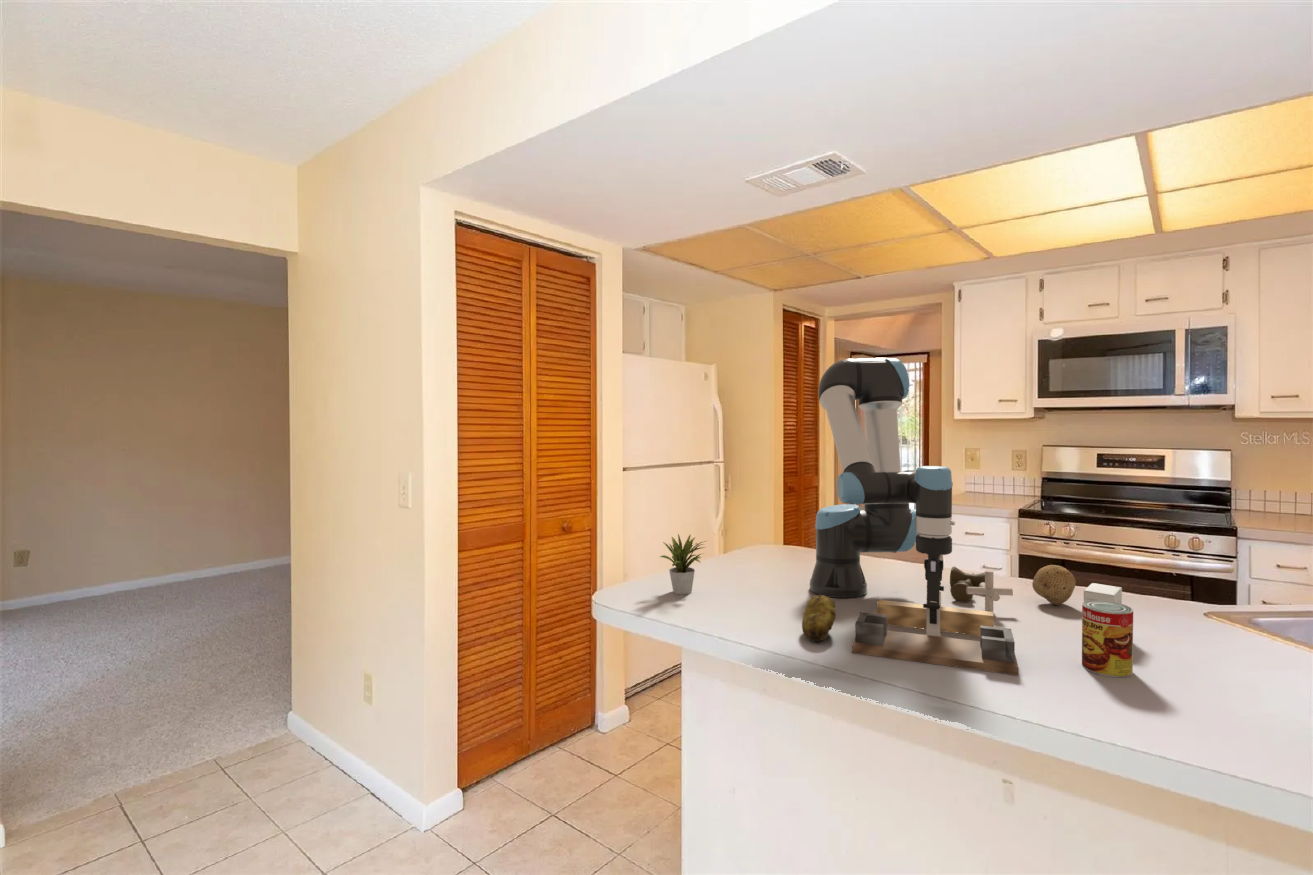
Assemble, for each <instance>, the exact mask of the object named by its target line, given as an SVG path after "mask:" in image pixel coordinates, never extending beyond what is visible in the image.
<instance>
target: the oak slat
mask: <svg viewBox="0 0 1313 875" xmlns="http://www.w3.org/2000/svg"><path fill="white" fill-rule="evenodd" d="M876 606H877V607H876V610H877V613H876V614H881V615H887V626H895V627H896V626H897V627H902V628H903V627H905V628H910V627H916V628H915V629H919V628H924V629H923V630H927V625H926V608H923V604H919V603H911V602H902V601H893V600H884V599H883V600H882V599H879V600H877V604H876ZM994 618H995V617H994V611H993V612H989V611H985V610H976V609H969V608H968V609H967V608H961V607H959V608H957V607H950V606H942V605H941V606H940V632H943V631H947V632H946V633H952V632H958V633H957V634H960V633H965V634H964V635H968V634H971V635H970V636H977V637H980V625H981V626H990V627H995V626H994V625H995V622H994V621H995V620H994Z"/></svg>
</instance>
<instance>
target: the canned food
mask: <svg viewBox="0 0 1313 875" xmlns="http://www.w3.org/2000/svg"><path fill="white" fill-rule="evenodd" d="M1081 604H1082V605H1081V606H1082V607H1081V609H1082V610H1081V611H1082V612H1081V666H1082V667H1083V668H1084V669H1086V670H1087V671H1089V672H1092V673H1094V674H1097V675H1100V676H1104V677H1111V678H1112V677H1113V678H1128V677H1130V676H1133V674H1134V673H1133V672H1134V671H1133V667H1134V662H1133V661H1134V609H1133V608H1132V606H1129V605H1126V604H1123V603H1122V604H1120V603H1115V602H1110V601H1101V600H1090V601H1085V602H1084V601H1083V602H1082V603H1081Z"/></svg>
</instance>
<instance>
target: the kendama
mask: <svg viewBox="0 0 1313 875" xmlns="http://www.w3.org/2000/svg"><path fill="white" fill-rule="evenodd" d="M982 582H984V583H985V571H984V572H980V573H976V574H975V573H973V572H972V573H966V572H964V571H962V570H961V569H959V568H958V567H956V566H952V567H951V569H950V573H949V586H950V588H951V589H950V595H951V597H952V599H953V600H955V601H956V602H958V603H959V602H960V603H969V602H970V601H971V600H972V598H973V595H974V594H967V592H966V587H979V584H980V583H982Z"/></svg>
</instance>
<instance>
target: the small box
mask: <svg viewBox="0 0 1313 875" xmlns="http://www.w3.org/2000/svg"><path fill="white" fill-rule="evenodd" d="M1122 595H1123V587H1121V586H1113V585H1107V584H1101V583H1095V582H1092V583H1090V584H1089V585H1088V586H1087V587H1086V588H1085V589H1084V590H1083V602H1085V601H1090V600H1101V601H1110V602H1115V603H1120V604H1123V602H1122V601H1123V599H1122V597H1123V596H1122Z"/></svg>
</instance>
